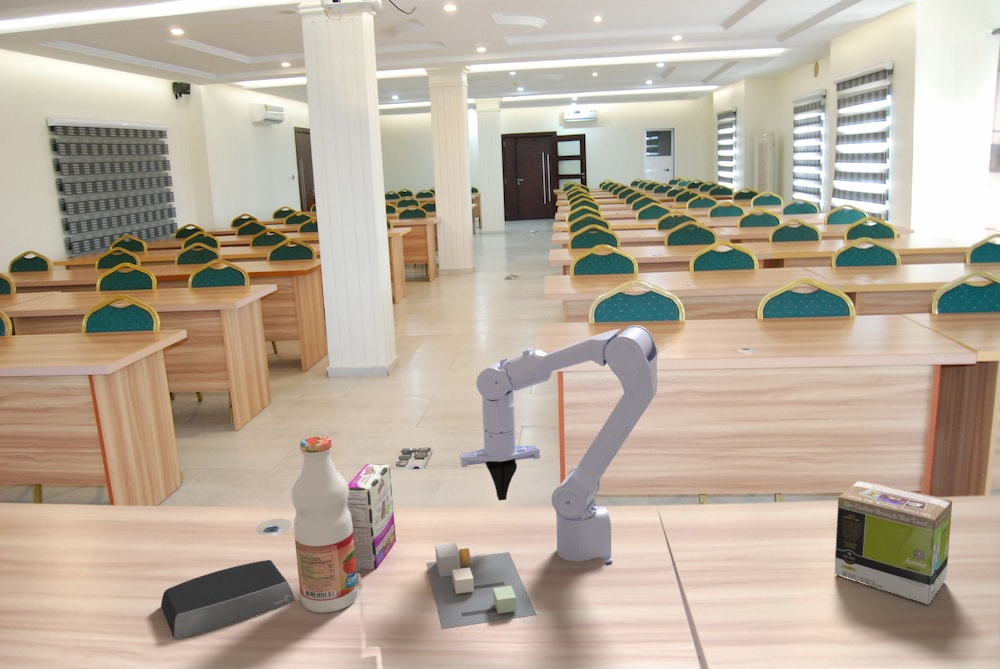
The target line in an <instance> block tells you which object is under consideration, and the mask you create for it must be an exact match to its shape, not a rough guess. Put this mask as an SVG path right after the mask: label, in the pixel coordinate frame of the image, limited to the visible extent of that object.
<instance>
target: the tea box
mask: <svg viewBox="0 0 1000 669" xmlns="http://www.w3.org/2000/svg"><path fill="white" fill-rule="evenodd" d="M837 499H838V500H837V514H836V515H837V516H836V517H837V518H836V534H835V535H836V537H835V552H834V554H835V555H834V558H835V560H834V575H835V574H837V575H841V576H843V577H844V576H845V577H848V578H851V579H854V580H856V581H860V582H863V583H865V584H868V585H871V586H873V587H876V588H875V589H877V588H880V589H883V590H886V591H888V592H887V593H889V592H891V593H890V594H893V593H895V594H894V595H896V594H898V595H897V596H899V595H901V596H900V597H902V596H904V597H903V598H905V597H906V598H905V599H908V598H911V599H914V600H913V601H915V600H917V601H916V602H918V601H920V602H919V603H921V602H922V604H924V603H925V604H924V605H927V604H929V603H930V604H931V603H932V601H933V599H934V598H935V597H936V595H937V594H938V592H939V591H938V589H939V588H940V587H941V585H942V584H943V582H944V581H945V582H946V578H947V572H948V561H949V547H950V536H951V524H952V512H953V511H952V510H953V509H952V507H953V500H950V499H947V498H942V497H937V496H934V495H929V494H925V493H921V492H915V491H912V490H907V489H902V488H898V487H894V486H889V485H885V484H882V483H881V484H880V483H876V482H872V481H868V480H867V481H866V480H863V479H859V480H857V481H856V482H855V483H854V484H853V485H851V486H850V487H849V488H848V489H847V490H846V491H844V492H843V493H842V494H840V495H839V496H838V498H837ZM943 585H944V584H943ZM873 587H872V588H873ZM941 588H942V587H941ZM941 588H940V589H941ZM880 589H879V590H880ZM883 590H882V591H883ZM886 591H885V592H886ZM937 591H938V592H937ZM936 593H937V594H936ZM935 594H936V595H935ZM907 597H908V598H907ZM933 597H934V598H933ZM911 599H910V600H911ZM931 600H932V601H931ZM930 604H929V605H930Z"/></svg>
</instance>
